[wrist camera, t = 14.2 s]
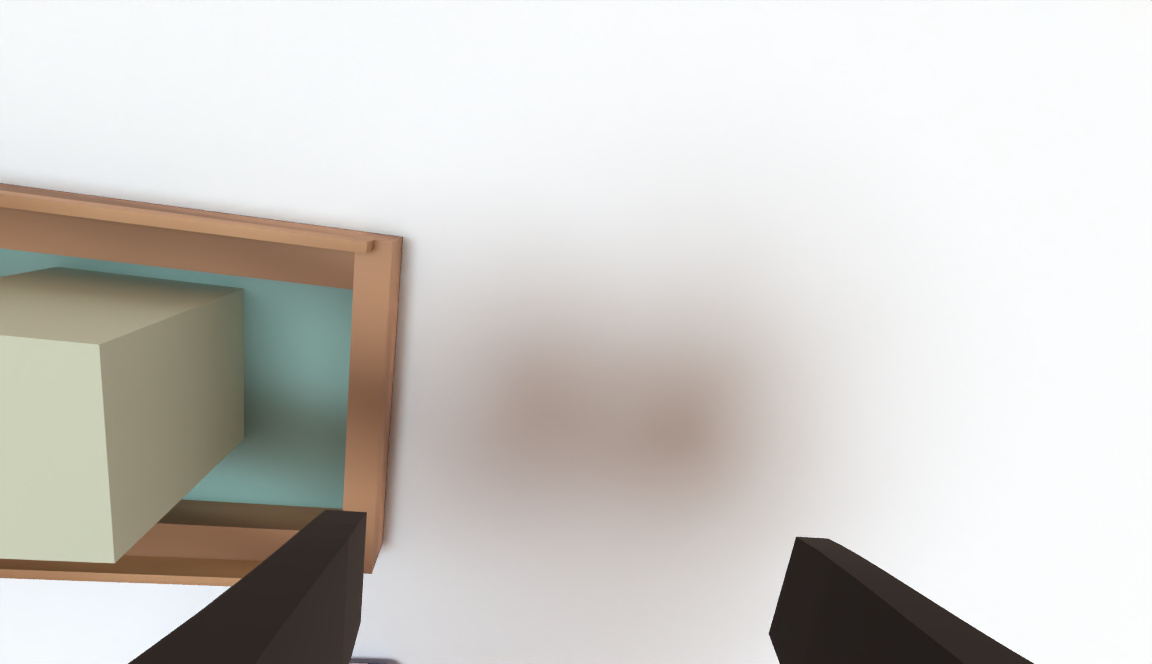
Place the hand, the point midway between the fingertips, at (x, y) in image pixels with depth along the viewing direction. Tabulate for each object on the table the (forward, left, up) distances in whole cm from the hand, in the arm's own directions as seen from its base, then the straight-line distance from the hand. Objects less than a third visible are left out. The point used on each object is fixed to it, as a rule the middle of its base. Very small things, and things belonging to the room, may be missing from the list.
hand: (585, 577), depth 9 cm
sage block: (-1, +12, -10) cm, 15 cm away
